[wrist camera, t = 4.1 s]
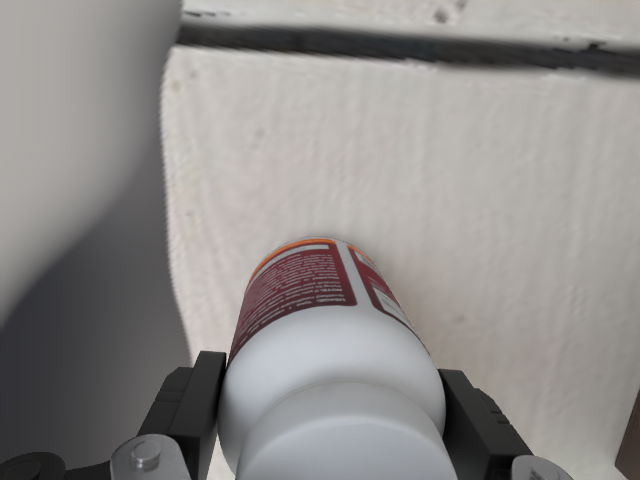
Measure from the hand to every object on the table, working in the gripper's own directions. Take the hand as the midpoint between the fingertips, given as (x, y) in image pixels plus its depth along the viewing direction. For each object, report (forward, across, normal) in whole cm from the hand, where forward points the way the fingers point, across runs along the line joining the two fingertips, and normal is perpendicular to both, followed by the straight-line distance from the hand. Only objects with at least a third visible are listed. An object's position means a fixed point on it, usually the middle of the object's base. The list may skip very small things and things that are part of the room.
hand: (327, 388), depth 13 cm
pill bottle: (+7, 0, 0) cm, 7 cm away
